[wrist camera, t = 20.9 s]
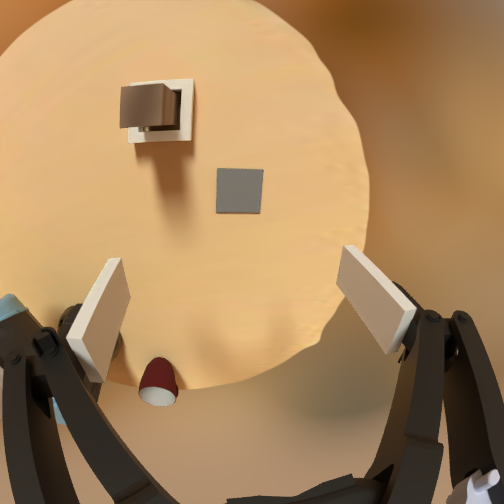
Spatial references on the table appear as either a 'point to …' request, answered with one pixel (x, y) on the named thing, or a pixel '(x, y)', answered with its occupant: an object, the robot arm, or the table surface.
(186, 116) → the socket block
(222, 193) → the mat
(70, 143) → the table surface
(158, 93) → the peg
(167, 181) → the table surface
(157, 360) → the mug
